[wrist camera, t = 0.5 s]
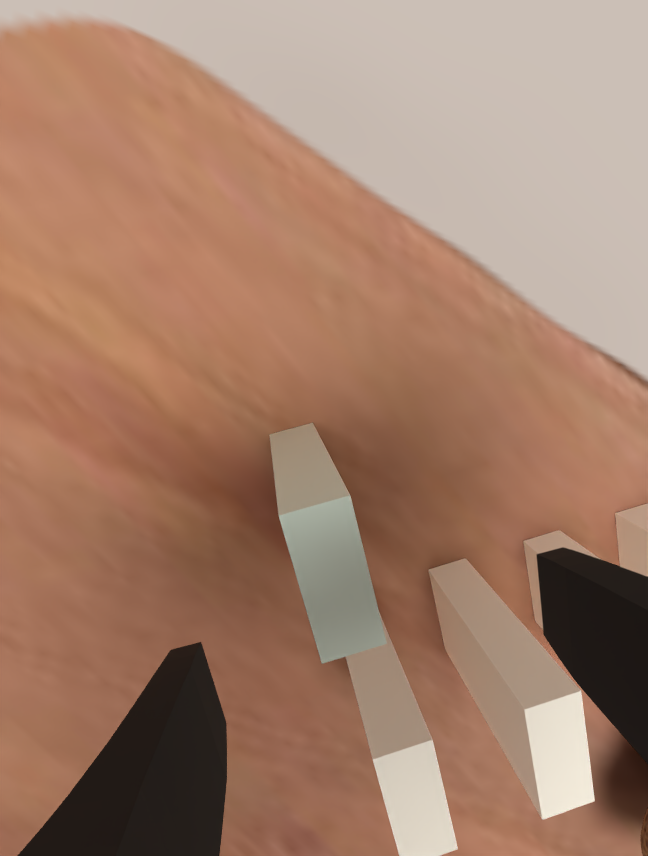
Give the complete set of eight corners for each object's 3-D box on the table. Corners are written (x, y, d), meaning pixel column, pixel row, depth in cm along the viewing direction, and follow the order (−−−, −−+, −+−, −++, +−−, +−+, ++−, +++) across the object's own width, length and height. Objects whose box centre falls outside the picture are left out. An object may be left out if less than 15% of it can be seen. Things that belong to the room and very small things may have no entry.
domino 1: (296, 531, 20) (322, 663, 13) (269, 434, 19) (278, 515, 12) (337, 519, 21) (386, 643, 13) (312, 422, 19) (350, 495, 12)
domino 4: (534, 620, 23) (673, 773, 16) (523, 540, 22) (666, 663, 14) (569, 609, 23) (724, 756, 16) (559, 529, 22) (720, 644, 15)
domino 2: (352, 678, 23) (402, 868, 15) (330, 598, 21) (372, 759, 14) (388, 666, 23) (457, 848, 15) (368, 587, 22) (432, 739, 14)
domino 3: (444, 649, 23) (542, 819, 15) (428, 569, 22) (524, 709, 14) (480, 638, 23) (594, 800, 15) (465, 557, 22) (580, 690, 14)
